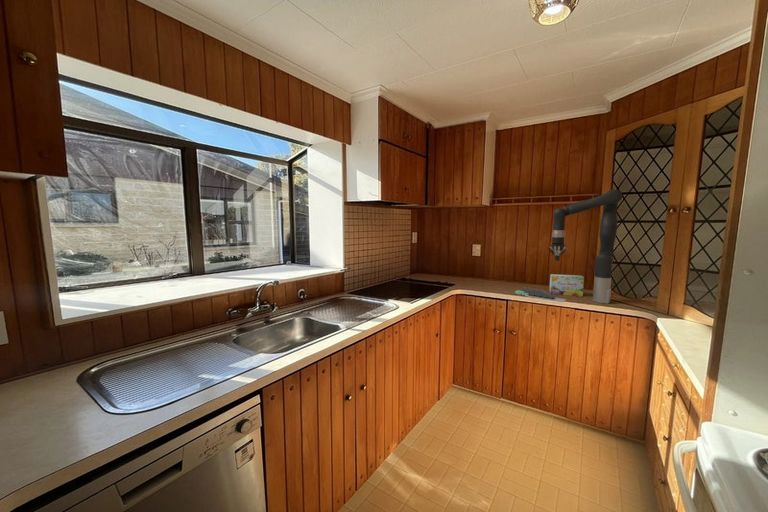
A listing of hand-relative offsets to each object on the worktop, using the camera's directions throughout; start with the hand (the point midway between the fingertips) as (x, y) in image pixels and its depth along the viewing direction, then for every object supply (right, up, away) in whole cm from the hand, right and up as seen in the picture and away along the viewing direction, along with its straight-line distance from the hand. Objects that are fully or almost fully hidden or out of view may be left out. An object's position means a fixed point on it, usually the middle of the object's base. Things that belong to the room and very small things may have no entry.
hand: (557, 260), depth 217 cm
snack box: (+12, -26, +11) cm, 31 cm away
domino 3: (-10, -26, +4) cm, 28 cm away
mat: (-8, -27, +2) cm, 28 cm away
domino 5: (-4, -26, -2) cm, 27 cm away
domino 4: (-7, -26, +1) cm, 27 cm away
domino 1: (-15, -25, +9) cm, 31 cm away
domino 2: (-13, -25, +6) cm, 29 cm away
